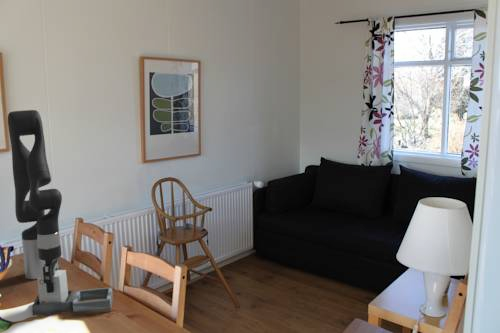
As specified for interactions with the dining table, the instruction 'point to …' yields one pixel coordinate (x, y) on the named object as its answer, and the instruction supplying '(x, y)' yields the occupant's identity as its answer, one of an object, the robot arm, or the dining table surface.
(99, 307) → the frame
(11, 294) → the dining table surface
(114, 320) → the dining table surface
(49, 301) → the small box
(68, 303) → the socket
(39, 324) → the dining table surface
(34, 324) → the dining table surface
